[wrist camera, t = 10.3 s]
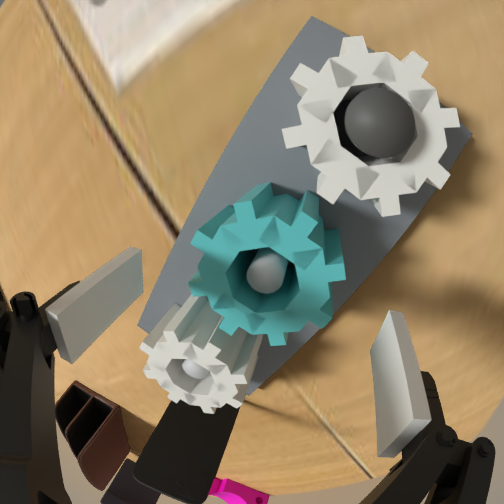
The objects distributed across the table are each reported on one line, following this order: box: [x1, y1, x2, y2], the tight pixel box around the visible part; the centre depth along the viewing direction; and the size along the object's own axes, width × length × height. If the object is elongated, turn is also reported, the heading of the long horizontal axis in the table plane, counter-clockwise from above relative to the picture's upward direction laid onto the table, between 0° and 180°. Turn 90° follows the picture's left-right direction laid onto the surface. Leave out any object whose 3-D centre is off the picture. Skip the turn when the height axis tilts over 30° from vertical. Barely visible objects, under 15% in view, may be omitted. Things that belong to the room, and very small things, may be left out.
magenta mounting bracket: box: [208, 478, 269, 504], centre depth 42 cm, size 15×6×8 cm, turn 55°
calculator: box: [100, 459, 161, 504], centre depth 46 cm, size 11×4×15 cm, turn 68°
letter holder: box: [55, 380, 130, 491], centre depth 39 cm, size 10×20×14 cm, turn 167°
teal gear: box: [188, 182, 346, 346], centre depth 19 cm, size 9×9×6 cm
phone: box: [133, 399, 240, 504], centre depth 25 cm, size 7×1×15 cm, turn 71°
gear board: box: [137, 16, 472, 414], centre depth 19 cm, size 32×14×9 cm, turn 149°
